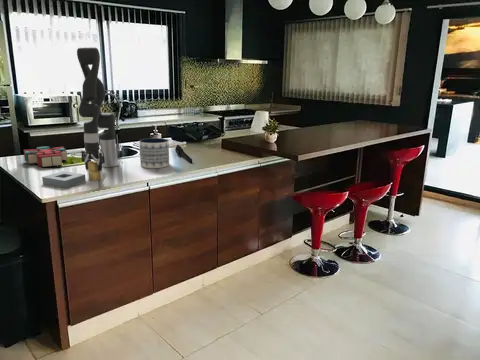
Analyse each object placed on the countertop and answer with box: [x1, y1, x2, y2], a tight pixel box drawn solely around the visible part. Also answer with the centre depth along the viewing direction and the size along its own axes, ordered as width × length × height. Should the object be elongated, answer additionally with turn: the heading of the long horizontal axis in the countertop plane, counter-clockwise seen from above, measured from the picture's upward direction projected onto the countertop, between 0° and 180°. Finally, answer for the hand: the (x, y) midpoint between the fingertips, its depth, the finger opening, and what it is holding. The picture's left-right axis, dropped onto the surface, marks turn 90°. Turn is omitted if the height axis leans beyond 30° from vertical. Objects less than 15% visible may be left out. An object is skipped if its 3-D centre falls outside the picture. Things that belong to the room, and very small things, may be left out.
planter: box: [138, 137, 170, 169], centre depth 251 cm, size 18×18×16 cm
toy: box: [23, 146, 68, 168], centre depth 253 cm, size 24×9×30 cm
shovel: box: [174, 144, 193, 164], centre depth 274 cm, size 35×4×8 cm, turn 25°
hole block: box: [41, 170, 87, 189], centre depth 210 cm, size 14×16×4 cm
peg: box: [87, 160, 102, 182], centre depth 217 cm, size 4×4×10 cm
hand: (93, 170), depth 217 cm, fingers open, 8 cm apart
